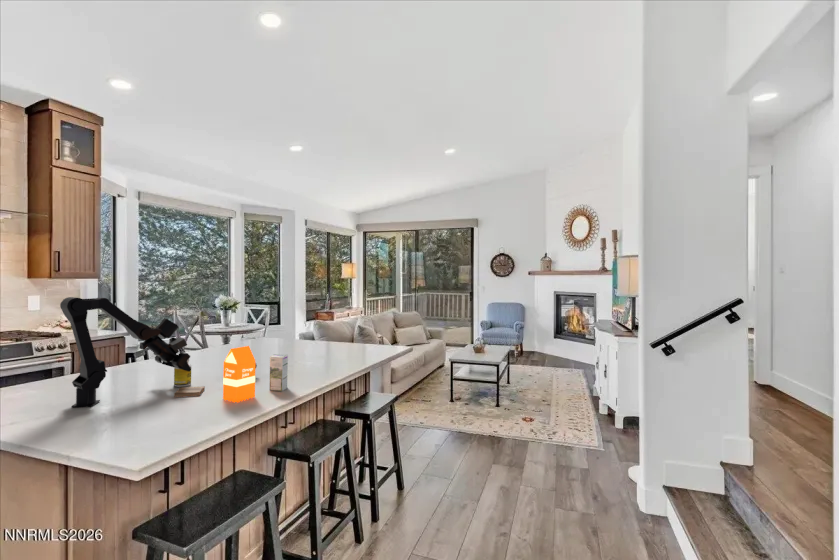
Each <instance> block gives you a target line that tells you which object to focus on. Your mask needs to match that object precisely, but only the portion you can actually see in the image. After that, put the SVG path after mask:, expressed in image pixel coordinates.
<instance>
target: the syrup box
mask: <svg viewBox="0 0 839 560" xmlns="http://www.w3.org/2000/svg"><path fill="white" fill-rule="evenodd" d="M288 361H289V355H288V354H280V353H279V354H272V355H270V357H269V391H273V392H274V391H275V392H282V391H285V390H286V389H288V371H289V370H288V365H289V363H288ZM284 389H285V390H284Z"/></svg>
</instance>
